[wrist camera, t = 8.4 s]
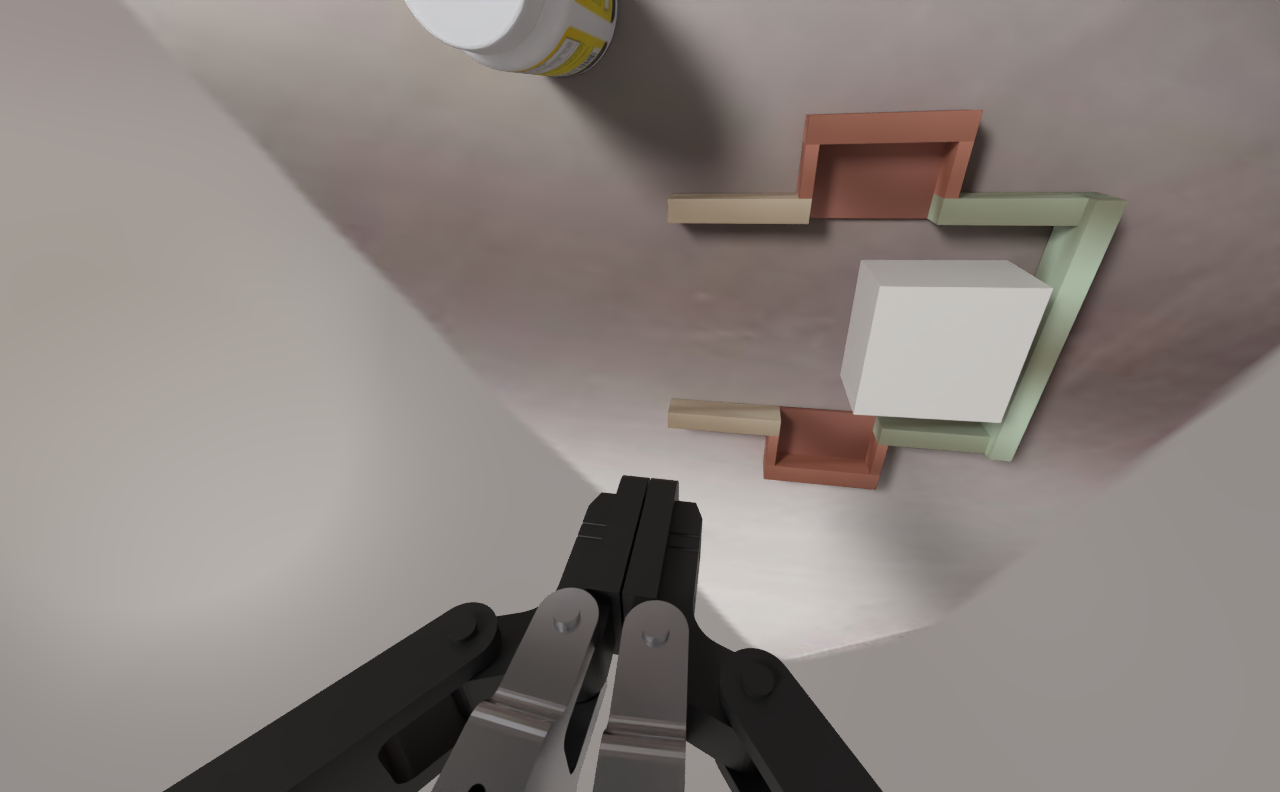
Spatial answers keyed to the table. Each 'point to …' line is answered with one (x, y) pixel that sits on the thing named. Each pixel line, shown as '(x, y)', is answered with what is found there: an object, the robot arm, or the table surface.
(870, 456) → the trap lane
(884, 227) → the table surface
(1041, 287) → the grey block
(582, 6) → the supplement bottle
